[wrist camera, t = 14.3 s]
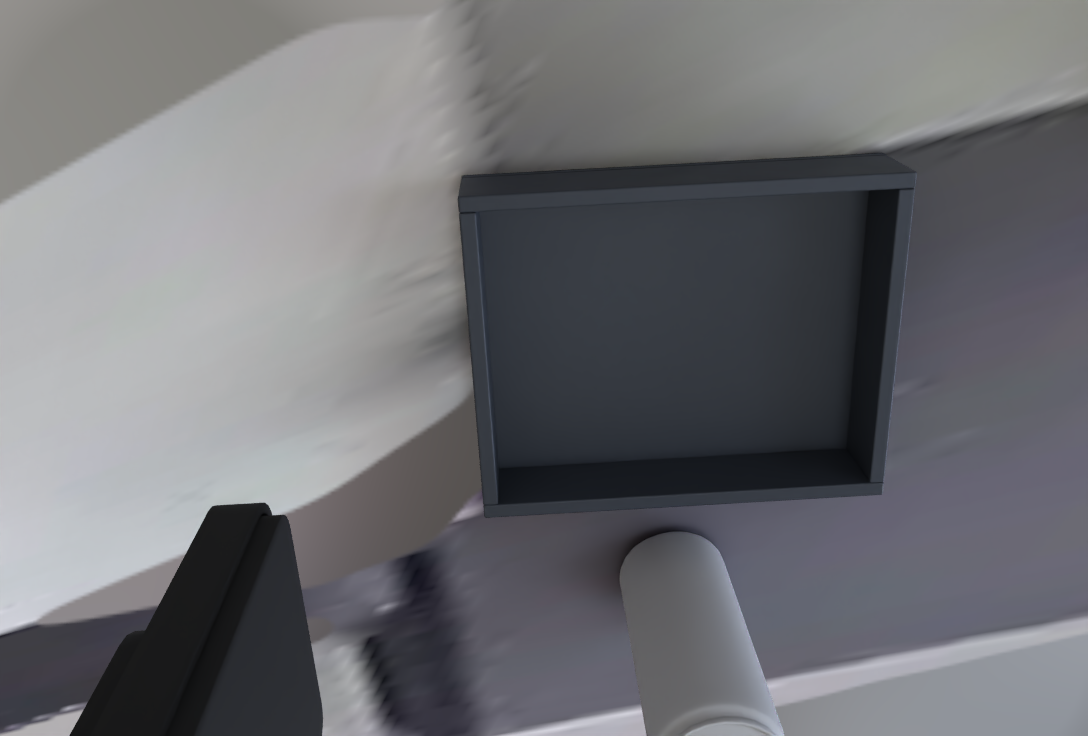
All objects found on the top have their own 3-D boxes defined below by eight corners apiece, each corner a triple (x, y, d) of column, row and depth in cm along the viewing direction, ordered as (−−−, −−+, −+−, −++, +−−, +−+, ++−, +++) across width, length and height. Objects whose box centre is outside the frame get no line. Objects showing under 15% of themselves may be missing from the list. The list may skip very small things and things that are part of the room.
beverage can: (596, 573, 45) (624, 779, 34) (669, 504, 43) (724, 695, 32) (671, 628, 46) (722, 842, 35) (744, 562, 45) (821, 764, 34)
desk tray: (461, 175, 37) (457, 196, 34) (883, 152, 37) (917, 171, 34) (486, 476, 43) (484, 518, 39) (855, 455, 43) (883, 495, 40)
